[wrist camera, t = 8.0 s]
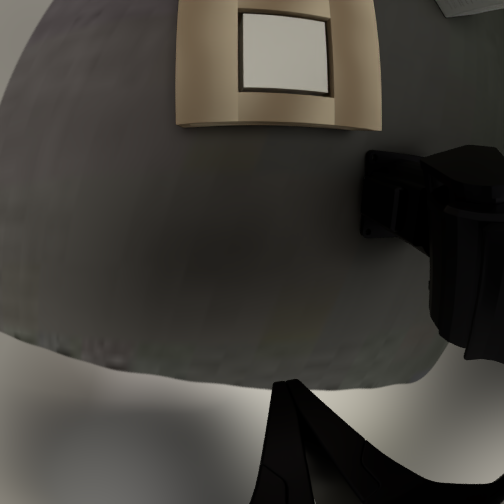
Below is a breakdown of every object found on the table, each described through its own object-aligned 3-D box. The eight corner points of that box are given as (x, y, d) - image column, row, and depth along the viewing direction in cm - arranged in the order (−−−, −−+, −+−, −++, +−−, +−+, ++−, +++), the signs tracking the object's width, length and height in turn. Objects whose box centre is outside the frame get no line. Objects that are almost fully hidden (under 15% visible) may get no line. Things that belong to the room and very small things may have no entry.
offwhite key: (311, 33, 13) (324, 22, 11) (313, 97, 15) (327, 92, 13) (238, 27, 13) (243, 13, 11) (239, 93, 14) (243, 87, 12)
